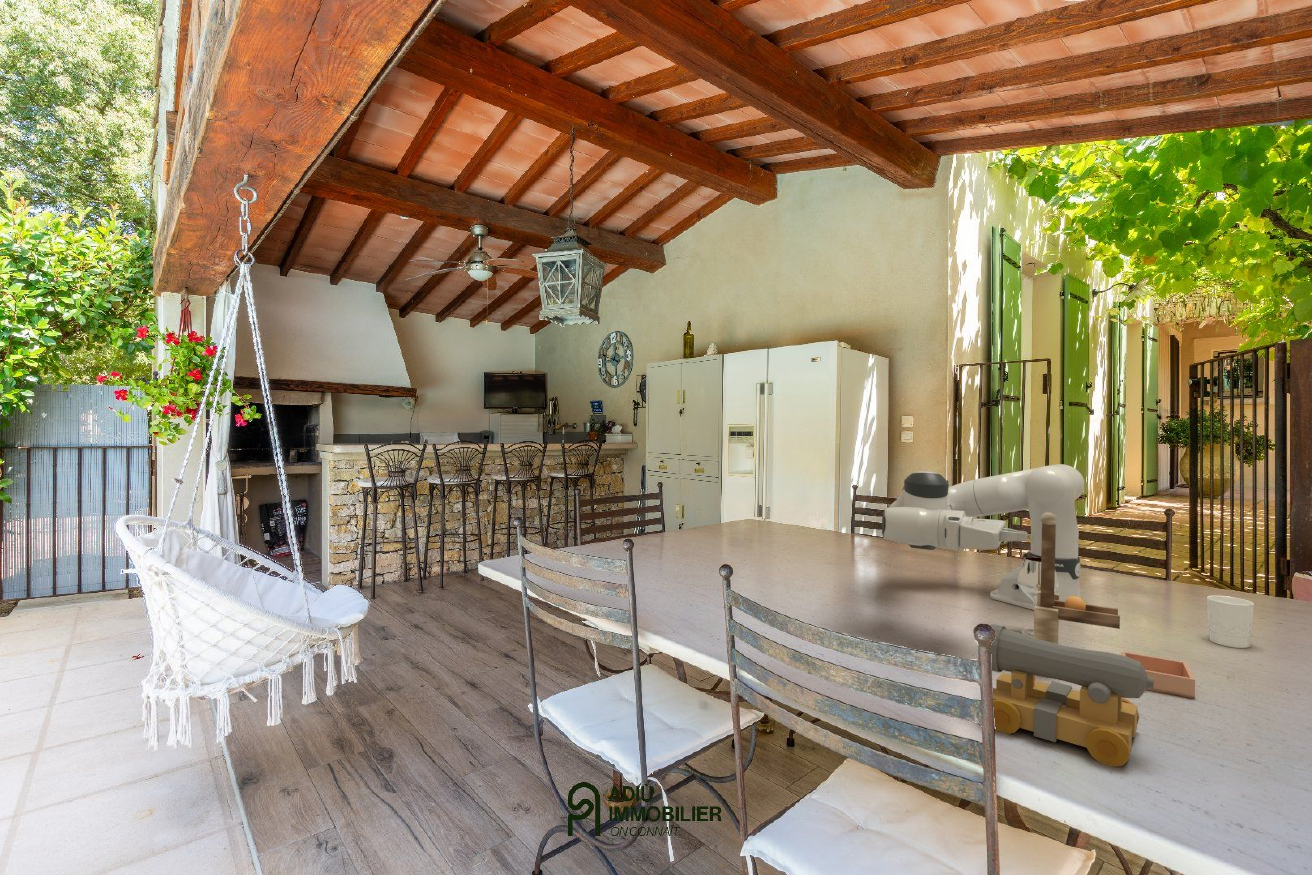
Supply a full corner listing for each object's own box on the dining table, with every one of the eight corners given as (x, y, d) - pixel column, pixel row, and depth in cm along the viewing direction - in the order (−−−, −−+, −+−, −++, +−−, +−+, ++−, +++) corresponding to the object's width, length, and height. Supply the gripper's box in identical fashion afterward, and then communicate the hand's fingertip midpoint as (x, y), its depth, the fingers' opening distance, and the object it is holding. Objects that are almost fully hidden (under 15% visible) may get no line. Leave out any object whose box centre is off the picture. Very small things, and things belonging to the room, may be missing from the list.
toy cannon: (1147, 779, 86) (1149, 673, 86) (975, 726, 101) (977, 635, 101) (1155, 736, 98) (1158, 643, 98) (1001, 694, 113) (1002, 613, 113)
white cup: (1262, 650, 136) (1263, 606, 136) (1220, 647, 138) (1222, 603, 138) (1236, 638, 144) (1237, 596, 144) (1197, 636, 146) (1198, 594, 145)
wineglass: (1054, 632, 147) (1055, 557, 147) (1060, 643, 140) (1061, 564, 140) (1014, 627, 151) (1016, 554, 150) (1018, 637, 143) (1020, 561, 143)
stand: (1018, 670, 124) (1019, 606, 124) (1023, 645, 138) (1024, 588, 138) (1072, 680, 119) (1073, 614, 119) (1071, 654, 133) (1073, 594, 133)
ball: (1061, 613, 126) (1061, 596, 126) (1068, 610, 128) (1068, 593, 128) (1081, 617, 123) (1082, 600, 123) (1088, 614, 125) (1088, 597, 125)
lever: (1037, 620, 124) (1039, 515, 124) (1039, 606, 134) (1041, 508, 134) (1120, 633, 117) (1123, 521, 117) (1116, 618, 127) (1119, 514, 126)
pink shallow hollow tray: (1124, 685, 117) (1124, 667, 117) (1120, 668, 126) (1121, 651, 126) (1194, 698, 112) (1195, 679, 112) (1185, 679, 120) (1186, 662, 120)
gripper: (962, 537, 147) (1029, 543, 139) (947, 551, 130) (1024, 559, 122) (962, 510, 146) (1030, 516, 139) (948, 521, 130) (1024, 528, 122)
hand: (1027, 536), depth 130 cm, fingers closed
